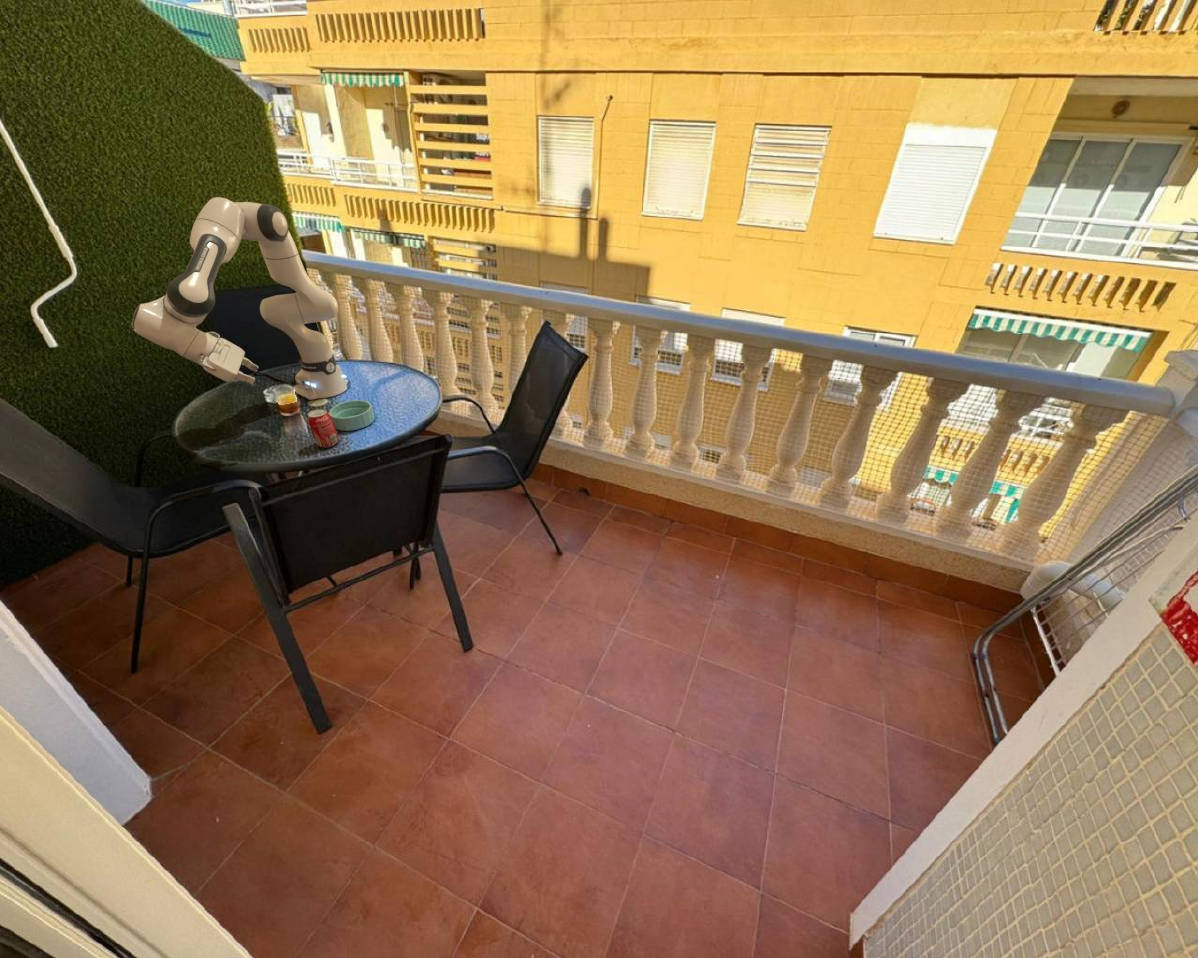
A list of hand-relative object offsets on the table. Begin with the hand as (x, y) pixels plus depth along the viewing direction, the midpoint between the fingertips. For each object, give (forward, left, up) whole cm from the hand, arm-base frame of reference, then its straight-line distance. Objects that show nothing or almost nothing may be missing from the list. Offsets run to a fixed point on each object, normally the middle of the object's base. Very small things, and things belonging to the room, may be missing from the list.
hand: (256, 375), depth 152 cm
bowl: (+4, +24, -27) cm, 37 cm away
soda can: (+8, +9, -28) cm, 30 cm away
